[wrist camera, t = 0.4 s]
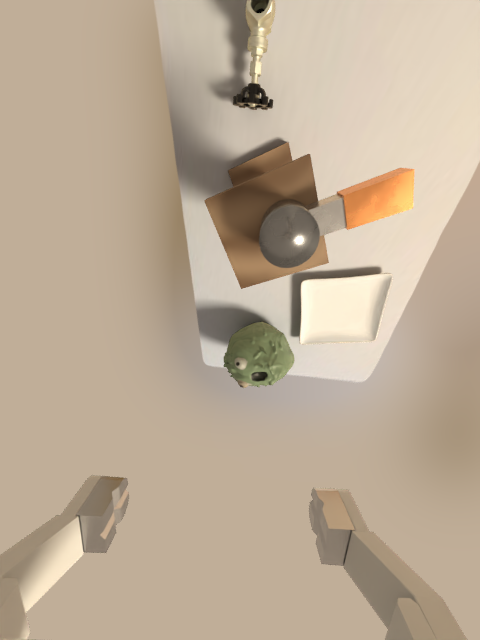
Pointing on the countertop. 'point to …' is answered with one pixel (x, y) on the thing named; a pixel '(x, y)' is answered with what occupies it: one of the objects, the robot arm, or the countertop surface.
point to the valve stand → (261, 211)
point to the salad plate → (343, 308)
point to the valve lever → (331, 216)
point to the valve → (257, 53)
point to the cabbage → (258, 355)
